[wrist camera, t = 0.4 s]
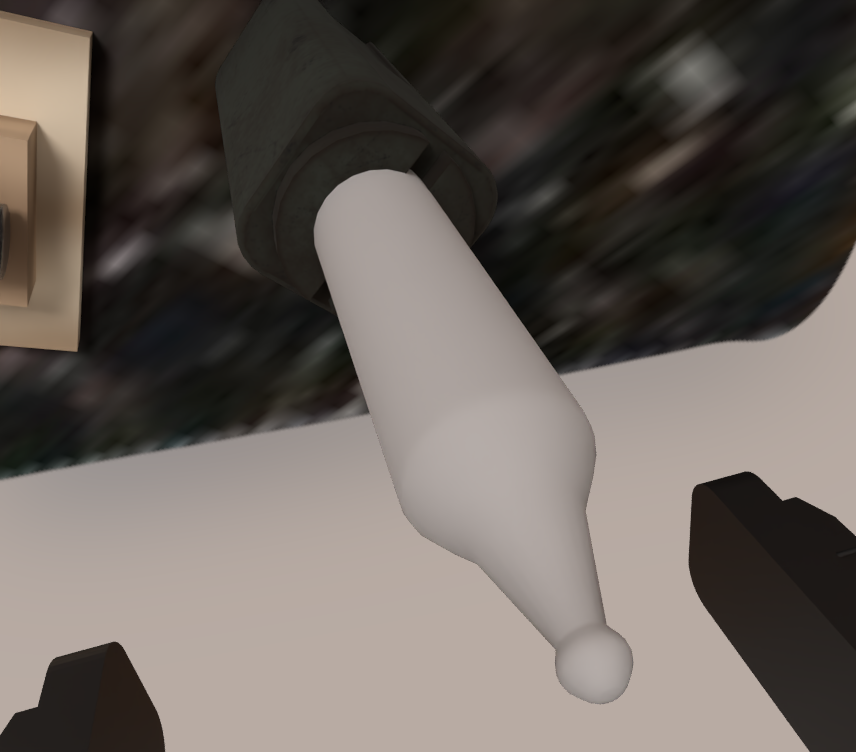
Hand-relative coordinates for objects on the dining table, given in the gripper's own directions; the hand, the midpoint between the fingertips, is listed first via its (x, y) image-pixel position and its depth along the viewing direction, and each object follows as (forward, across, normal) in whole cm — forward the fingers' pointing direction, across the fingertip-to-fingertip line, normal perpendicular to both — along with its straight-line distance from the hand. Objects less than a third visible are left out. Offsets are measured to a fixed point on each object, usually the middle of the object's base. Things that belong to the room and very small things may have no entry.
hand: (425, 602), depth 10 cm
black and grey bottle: (+22, -1, -4) cm, 23 cm away
